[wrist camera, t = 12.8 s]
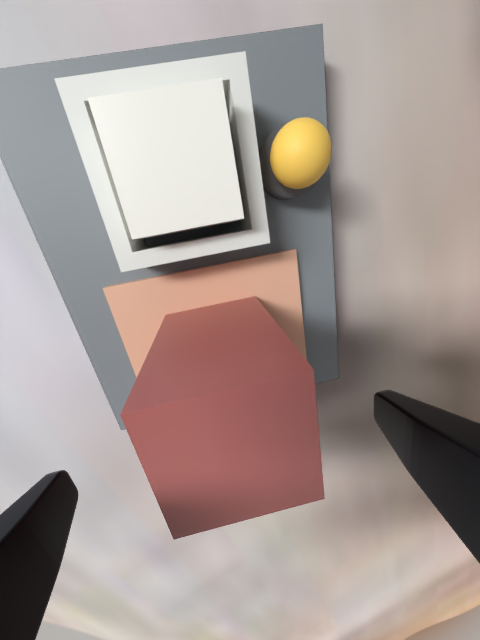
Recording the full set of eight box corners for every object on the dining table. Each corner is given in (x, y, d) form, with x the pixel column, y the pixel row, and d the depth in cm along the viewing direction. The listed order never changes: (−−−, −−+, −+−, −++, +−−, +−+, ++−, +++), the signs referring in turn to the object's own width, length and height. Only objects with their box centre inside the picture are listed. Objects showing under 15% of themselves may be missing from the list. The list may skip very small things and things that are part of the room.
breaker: (216, 122, 10) (221, 77, 7) (233, 221, 11) (244, 218, 8) (122, 137, 9) (87, 97, 7) (150, 237, 11) (132, 239, 8)
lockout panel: (307, 50, 11) (369, -59, 7) (327, 365, 17) (368, 409, 12) (-4, 95, 10) (-147, 1, 6) (128, 412, 16) (101, 476, 12)
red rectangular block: (255, 296, 12) (313, 369, 6) (267, 372, 14) (324, 498, 7) (165, 314, 12) (120, 414, 5) (188, 390, 14) (173, 539, 7)
